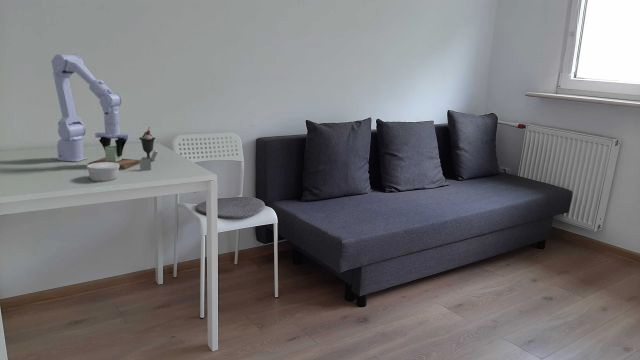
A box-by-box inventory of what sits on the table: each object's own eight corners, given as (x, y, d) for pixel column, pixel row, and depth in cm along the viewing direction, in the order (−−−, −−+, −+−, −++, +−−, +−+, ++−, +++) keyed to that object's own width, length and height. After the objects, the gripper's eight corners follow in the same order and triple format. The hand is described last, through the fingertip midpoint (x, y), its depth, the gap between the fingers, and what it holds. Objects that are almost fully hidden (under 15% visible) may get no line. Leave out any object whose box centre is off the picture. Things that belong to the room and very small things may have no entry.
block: (105, 161, 208) (104, 146, 206) (112, 158, 212) (111, 144, 210) (115, 161, 207) (114, 147, 205) (121, 159, 211) (121, 145, 210)
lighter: (140, 170, 203) (139, 151, 201) (140, 169, 205) (139, 150, 203) (158, 169, 206) (157, 150, 204) (158, 168, 207) (157, 149, 205)
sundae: (151, 162, 217) (150, 128, 213) (137, 161, 218) (135, 127, 214) (159, 159, 223) (158, 126, 219) (145, 158, 224) (144, 125, 221)
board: (88, 166, 206) (88, 163, 205) (105, 160, 217) (104, 157, 217) (125, 169, 203) (124, 165, 203) (139, 163, 215) (139, 159, 215)
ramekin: (86, 176, 191) (85, 162, 190) (117, 174, 196) (116, 160, 195) (89, 183, 182) (88, 169, 180) (122, 180, 187) (121, 167, 186)
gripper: (89, 123, 203) (92, 156, 206) (123, 125, 201) (125, 158, 204) (99, 121, 210) (102, 153, 213) (132, 123, 208) (134, 155, 211)
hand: (114, 155), depth 209 cm, fingers closed on block, 4 cm apart
